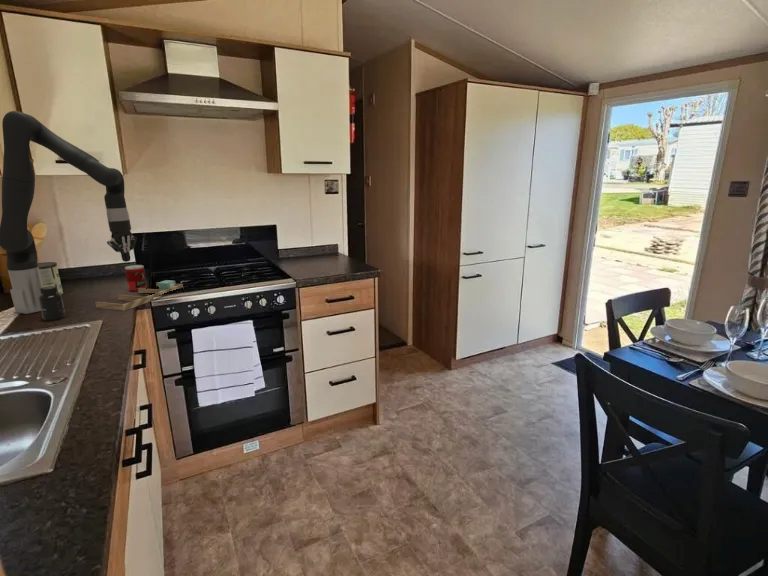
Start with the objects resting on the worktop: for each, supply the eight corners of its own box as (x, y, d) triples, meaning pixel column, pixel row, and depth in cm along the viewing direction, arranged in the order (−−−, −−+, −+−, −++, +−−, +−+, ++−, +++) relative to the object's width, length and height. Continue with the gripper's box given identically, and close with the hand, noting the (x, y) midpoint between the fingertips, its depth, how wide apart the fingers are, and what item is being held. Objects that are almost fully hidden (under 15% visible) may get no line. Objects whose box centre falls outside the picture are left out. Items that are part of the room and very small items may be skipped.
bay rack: (124, 310, 166) (123, 304, 166) (96, 307, 170) (95, 301, 169) (183, 289, 196) (182, 284, 196) (157, 287, 200) (157, 282, 199)
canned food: (139, 292, 192) (135, 268, 189) (124, 291, 194) (120, 268, 191) (151, 287, 199) (147, 265, 196) (137, 287, 201) (133, 264, 198)
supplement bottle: (39, 321, 154) (32, 290, 151) (48, 316, 161) (41, 286, 157) (61, 320, 156) (54, 289, 153) (69, 314, 162) (62, 284, 159)
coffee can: (33, 294, 189) (25, 264, 185) (61, 290, 196) (54, 261, 192) (36, 299, 182) (28, 268, 178) (65, 294, 189) (58, 264, 185)
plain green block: (168, 294, 189) (167, 283, 188) (159, 293, 190) (157, 282, 189) (176, 291, 194) (175, 280, 192) (167, 290, 195) (166, 280, 194)
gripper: (125, 217, 176) (133, 257, 181) (96, 221, 164) (105, 264, 169) (139, 217, 174) (146, 258, 179) (111, 221, 162) (119, 265, 166)
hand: (126, 261), depth 174 cm, fingers closed
